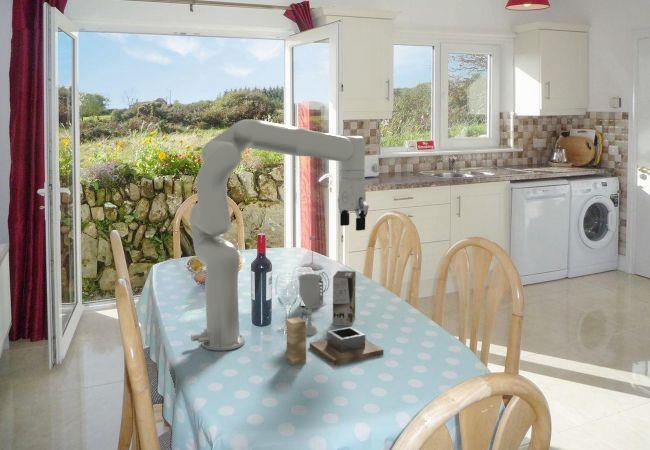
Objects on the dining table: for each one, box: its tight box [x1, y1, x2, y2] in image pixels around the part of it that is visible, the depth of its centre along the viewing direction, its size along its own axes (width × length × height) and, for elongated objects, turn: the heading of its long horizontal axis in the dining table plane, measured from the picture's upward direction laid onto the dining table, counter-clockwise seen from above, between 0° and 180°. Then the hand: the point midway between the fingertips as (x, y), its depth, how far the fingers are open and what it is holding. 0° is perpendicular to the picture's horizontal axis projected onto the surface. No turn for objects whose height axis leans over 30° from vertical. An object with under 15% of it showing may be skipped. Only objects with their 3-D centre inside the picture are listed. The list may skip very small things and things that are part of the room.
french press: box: [298, 235, 330, 309], centre depth 226 cm, size 10×12×25 cm
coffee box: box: [332, 270, 356, 327], centre depth 209 cm, size 9×6×16 cm
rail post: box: [285, 316, 307, 366], centre depth 175 cm, size 4×4×12 cm
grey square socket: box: [326, 326, 366, 353], centre depth 183 cm, size 8×8×4 cm
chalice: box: [297, 273, 322, 336], centre depth 198 cm, size 7×7×18 cm
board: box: [309, 338, 384, 366], centre depth 184 cm, size 16×15×2 cm
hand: (352, 227), depth 206 cm, fingers open, 9 cm apart
